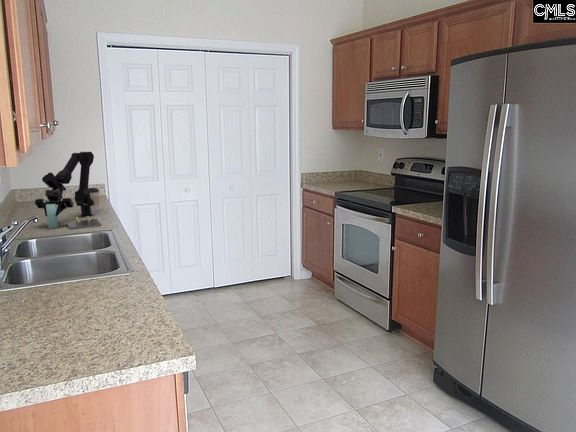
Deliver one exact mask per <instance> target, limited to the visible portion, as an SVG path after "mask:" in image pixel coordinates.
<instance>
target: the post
mask: <svg viewBox="0 0 576 432" xmlns="http://www.w3.org/2000/svg"><path fill="white" fill-rule="evenodd" d="M57 208H58V207H57V205H56V204H55V203H51V204H46V211H47V216H46V218H47V227H48V229H50V228H51V229H52V228H53V229H58V228H59V219H58V216H59V215H58V216H56V211H57ZM51 229H50V230H51Z"/></svg>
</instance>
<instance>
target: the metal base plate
mask: <svg viewBox="0 0 576 432" xmlns="http://www.w3.org/2000/svg"><path fill="white" fill-rule="evenodd" d="M66 225H67V228H68V227H69V228H68V229H69V230H70V229H71V230H76V229H75V228H79V229H85V228H84V227H88V228H94V226H96V227H101V226H102V223H101V221H99V220H98V219H97V218H93V219H92V218H91V217H90V216H86V219H84V220H80V219H79V217H78V216H76V217H75V220H72V221H66Z"/></svg>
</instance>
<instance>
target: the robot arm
mask: <svg viewBox="0 0 576 432" xmlns="http://www.w3.org/2000/svg"><path fill="white" fill-rule="evenodd" d="M94 156H95V155H94V154H93V152H92V151H80V152H72V154H71V156H70V158H69V159H68V161H67V162H66V164H65V166H64V167H63V169H62V170H59V171H58V172H57V173H56V174H55V175H54V173H53V172H48V173H47V174H45V175H44V176H43V177H42V179H41V181H42V182H43V183H44V184H45V186H47V187H48V188H49V189H46V190H45V193H44V194H45V195H44V196H45V197H46V198H47V200H46V199H44V198H36V199H35V200H34V204H35V205H36V207H37V208H38V209H43V211H44V216H45V217H47V211H46V204H51V203H55V204H56V206H57V207H56V208H57V211H56V216H59V215H60V214H61V213H62V212H63V211H64V210H66V209H67V208H74V202H75V205H76V206H77V207H80V214H79V216H81V217H87V216H89V217H91V216H93V212H91V206H93V205H94V201H93V200H92V199H91V198H90V193H89V191H88V188H89V180H90V178H89V177H90V169H91V168H90V167H91V166H92V164H93V162H94V159H95V157H94ZM78 163H79V164H80V172H79V173H80V175H79V184H78V190H75V192H74V197H73V198H74V202H73V200H72V198H70V197H63V193H64V191H66V190H67V188H66V187H65V185H68V184H70V183H71V180H72V174H73V172H74V171H75V169H76V167H77V165H78Z"/></svg>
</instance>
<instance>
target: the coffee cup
mask: <svg viewBox="0 0 576 432" xmlns="http://www.w3.org/2000/svg"><path fill="white" fill-rule="evenodd" d="M88 191H89V193H90V198H91V199H92V200H93V201H94V205H93V206H91V213H96V212H99V211H100V191H99V188H97V187H88Z"/></svg>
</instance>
